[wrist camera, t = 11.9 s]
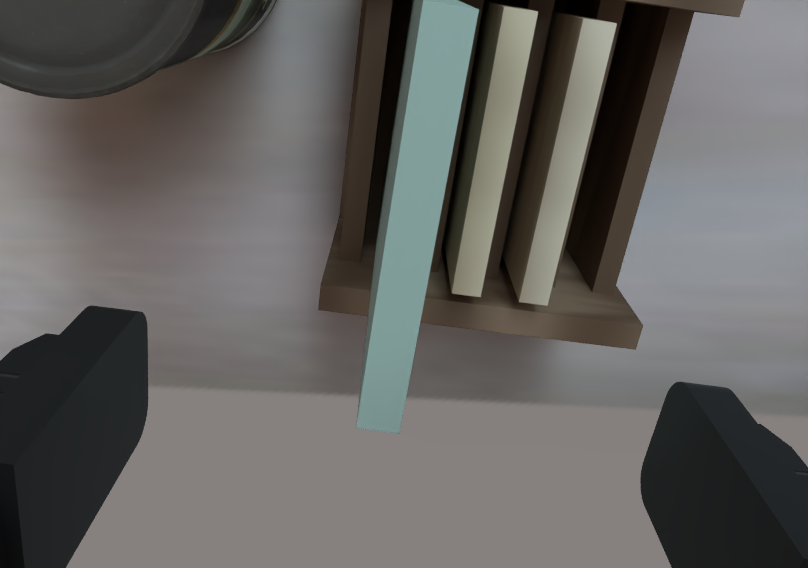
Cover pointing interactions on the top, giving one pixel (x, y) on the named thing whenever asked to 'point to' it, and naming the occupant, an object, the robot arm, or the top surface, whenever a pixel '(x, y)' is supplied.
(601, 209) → the rack
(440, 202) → the tall sheet
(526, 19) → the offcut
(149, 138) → the top surface
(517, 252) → the board
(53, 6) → the coffee can
